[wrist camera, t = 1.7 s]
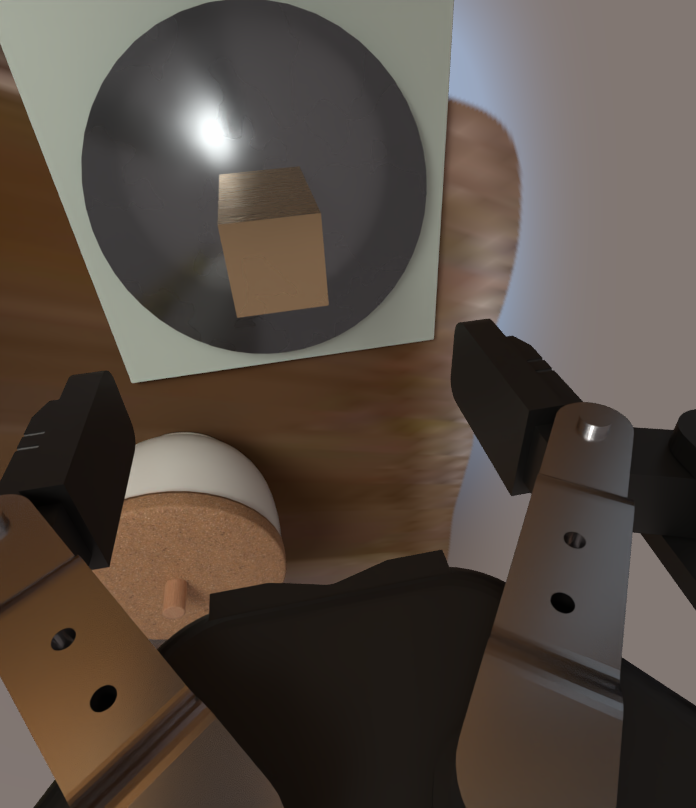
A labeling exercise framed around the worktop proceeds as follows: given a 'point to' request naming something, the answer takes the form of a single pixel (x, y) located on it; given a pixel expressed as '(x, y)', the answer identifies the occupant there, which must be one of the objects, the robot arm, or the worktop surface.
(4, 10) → the mat
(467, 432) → the worktop surface
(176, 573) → the lidded jar
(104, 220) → the lid
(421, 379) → the worktop surface
